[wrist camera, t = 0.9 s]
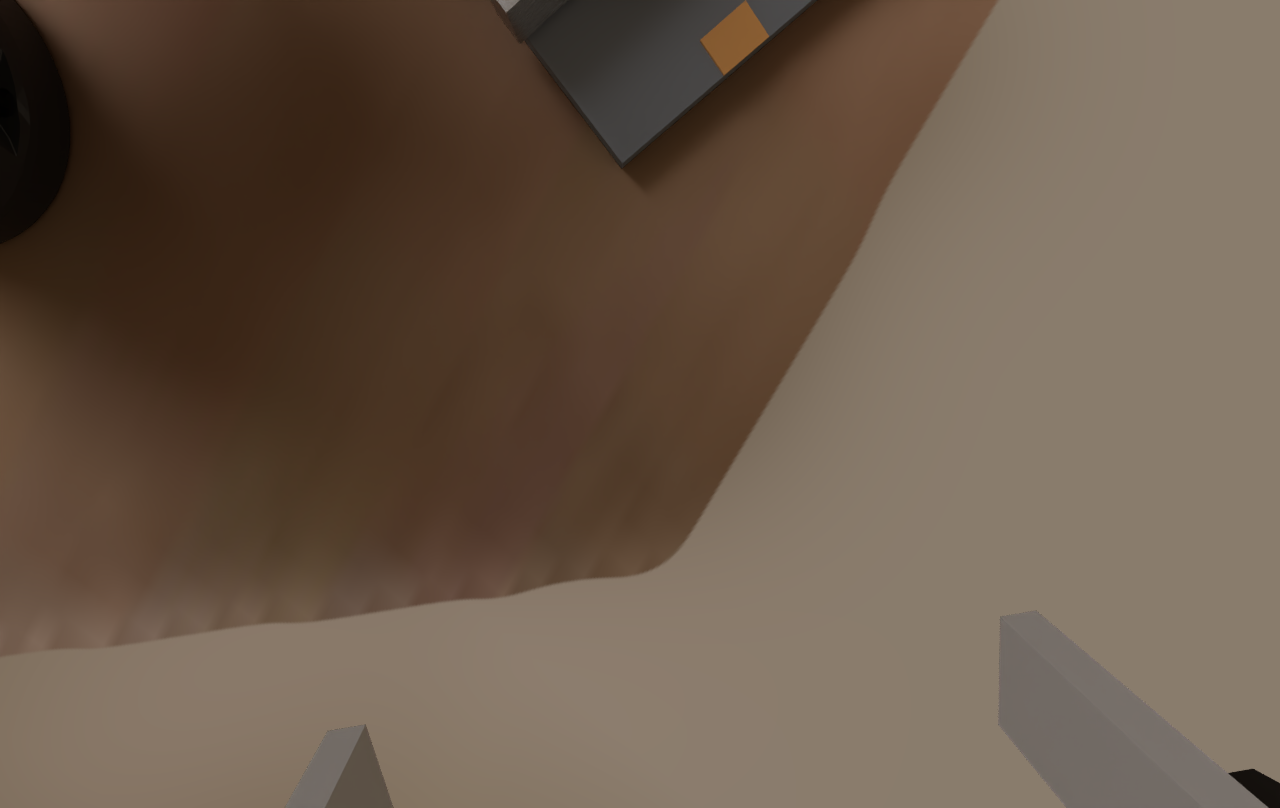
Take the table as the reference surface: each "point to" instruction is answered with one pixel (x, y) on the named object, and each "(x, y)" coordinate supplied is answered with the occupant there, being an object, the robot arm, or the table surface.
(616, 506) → the table surface
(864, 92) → the table surface
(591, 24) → the dial plate
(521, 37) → the dial lever
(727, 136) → the table surface
